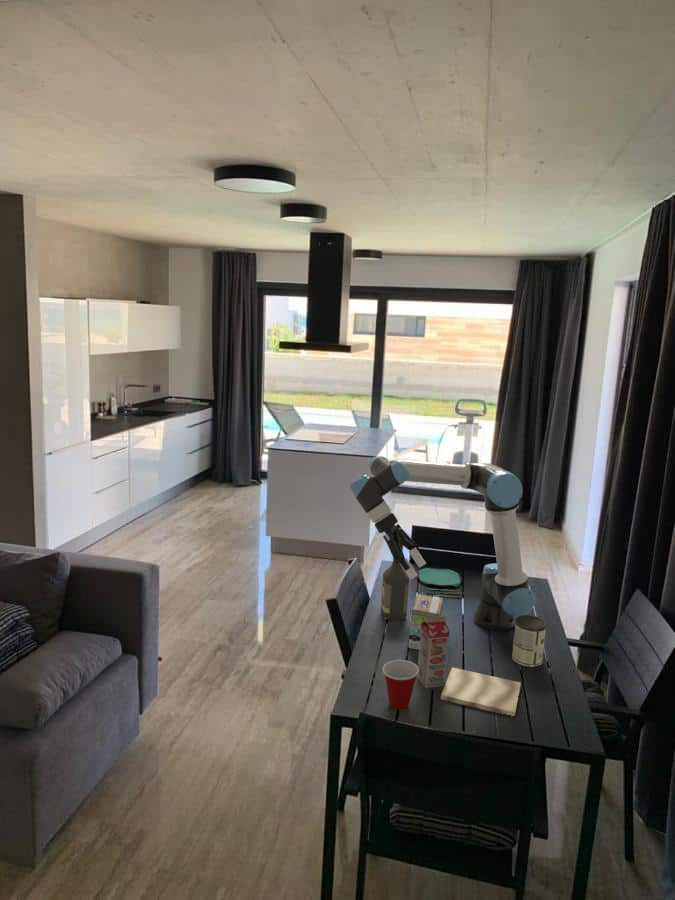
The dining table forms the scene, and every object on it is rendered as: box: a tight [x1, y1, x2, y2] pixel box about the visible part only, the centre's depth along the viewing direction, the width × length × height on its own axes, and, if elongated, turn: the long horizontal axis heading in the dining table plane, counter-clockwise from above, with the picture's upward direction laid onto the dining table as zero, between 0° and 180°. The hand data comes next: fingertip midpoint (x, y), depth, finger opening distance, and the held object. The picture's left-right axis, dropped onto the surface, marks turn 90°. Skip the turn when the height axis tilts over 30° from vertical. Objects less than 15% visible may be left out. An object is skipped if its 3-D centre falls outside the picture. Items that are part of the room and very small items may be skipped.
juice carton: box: [416, 616, 450, 689], centre depth 212 cm, size 7×7×22 cm
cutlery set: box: [416, 567, 463, 599], centre depth 294 cm, size 20×30×2 cm, turn 176°
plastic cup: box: [382, 659, 419, 711], centre depth 199 cm, size 11×11×12 cm
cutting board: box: [440, 667, 522, 717], centre depth 208 cm, size 22×18×2 cm
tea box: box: [408, 593, 444, 651], centre depth 239 cm, size 15×10×15 cm, turn 166°
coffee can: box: [511, 614, 548, 668], centre depth 230 cm, size 10×10×14 cm
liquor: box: [380, 543, 410, 621], centre depth 257 cm, size 9×9×30 cm
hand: (418, 571), depth 222 cm, fingers open, 13 cm apart
